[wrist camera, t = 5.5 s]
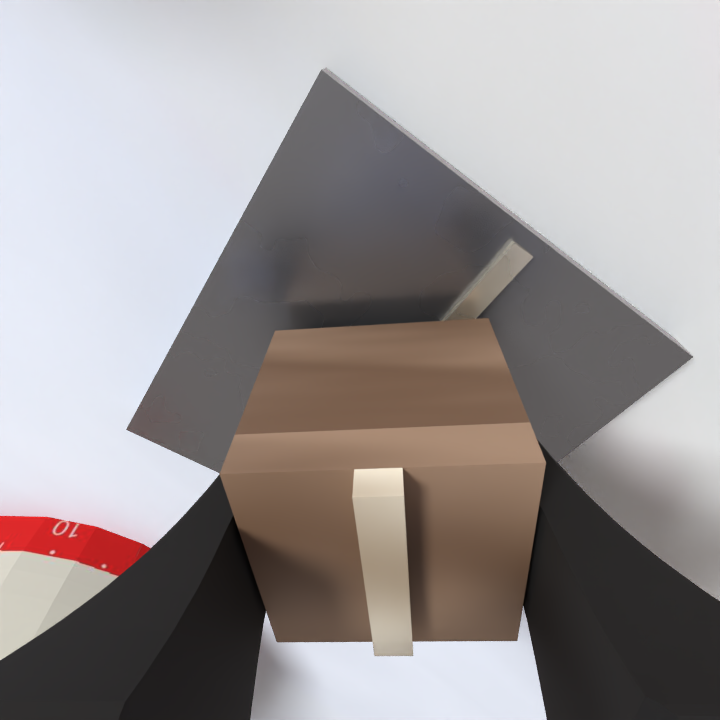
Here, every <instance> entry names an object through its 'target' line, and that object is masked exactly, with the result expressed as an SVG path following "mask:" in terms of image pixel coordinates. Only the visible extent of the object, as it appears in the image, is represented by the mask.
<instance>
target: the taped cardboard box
mask: <svg viewBox="0 0 720 720" xmlns="http://www.w3.org/2000/svg"><path fill="white" fill-rule="evenodd" d="M545 466H546V461H545V459H544V456H543V454H542V451H541V449H540V446H539V444H538V441H537V439H536V436H535V434H534V431H533V429H532V426H531V423H530V421H529V418H528V416H527V413H526V411H525V408H524V406H523V403H522V401H521V398H520V396H519V393H518V391H517V388H516V386H515V383H514V381H513V378H512V376H511V373H510V371H509V368H508V366H507V363H506V361H505V358H504V356H503V353H502V351H501V348H500V346H499V343H498V341H497V338H496V336H495V333H494V331H493V328H492V326H491V323H490V321H489V318H481V319H464V320H448V321H431V322H414V323H397V324H380V325H363V326H346V327H329V328H312V329H296V330H279V331H275V332H274V335H273V337H272V340H271V342H270V345H269V348H268V350H267V353H266V355H265V358H264V360H263V363H262V366H261V368H260V371H259V373H258V376H257V379H256V381H255V384H254V386H253V389H252V391H251V394H250V397H249V399H248V402H247V404H246V407H245V409H244V412H243V415H242V417H241V420H240V422H239V425H238V428H237V430H236V433H235V435H234V438H233V440H232V443H231V446H230V448H229V451H228V453H227V456H226V459H225V461H224V464H223V466H222V469H221V471H220V477H221V480H222V483H223V486H224V489H225V492H226V495H227V498H228V500H229V503H230V506H231V509H232V512H233V515H234V518H235V521H236V524H237V527H238V530H239V533H240V536H241V539H242V541H243V544H244V547H245V550H246V553H247V556H248V559H249V562H250V565H251V568H252V571H253V574H254V577H255V580H256V582H257V585H258V588H259V591H260V594H261V597H262V600H263V603H264V606H265V609H266V612H267V615H268V618H269V621H270V623H271V626H272V629H273V632H274V635H275V638H276V641H277V642H373V648H374V655H375V656H413V644H412V641H517V639H518V633H519V627H520V621H521V614H522V608H523V602H524V596H525V590H526V584H527V577H528V571H529V565H530V559H531V553H532V547H533V540H534V534H535V528H536V522H537V516H538V510H539V503H540V497H541V491H542V485H543V479H544V473H545Z"/></svg>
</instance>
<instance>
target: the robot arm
mask: <svg viewBox="0 0 720 720" xmlns="http://www.w3.org/2000/svg"><path fill="white" fill-rule="evenodd" d="M536 439H537V438H536ZM537 441H538V439H537ZM538 444H539V446H540V449H541V451H542V454H543V456H544V459H545V461H546V466H545V473H544V479H543V485H542V491H541V497H540V503H539V510H538V516H537V522H536V528H535V534H534V540H533V547H532V553H531V559H530V565H529V571H528V577H527V584H526V590H525V596H524V602H523V606H524V610H525V614H526V618H527V622H528V626H529V631H530V636H531V641H532V646H533V651H534V655H535V660H536V665H537V670H538V675H539V680H540V686H541V691H542V696H543V701H544V706H545V711H546V717H547V720H720V601H718V600H717V599H715V598H714V597H712V596H711V595H709V594H708V593H706V592H705V591H704V590H702V589H701V588H699V587H698V586H697V585H695V584H694V583H692V582H691V581H690V580H688V579H687V578H686V577H684V576H683V575H681V574H680V573H679V572H677V571H676V570H675V569H673V568H672V567H670V566H669V565H668V564H666V563H665V562H664V561H662V560H661V559H660V558H658V557H657V556H656V555H655V554H653V553H652V552H651V551H650V550H648V549H647V548H646V547H645V546H643V545H642V544H641V543H640V542H639V541H637V540H636V539H635V538H634V537H633V536H632V535H630V534H629V533H628V532H627V531H626V530H624V529H623V528H622V527H621V526H620V525H619V524H618V523H617V522H615V521H614V520H613V519H612V518H611V517H610V516H609V515H608V514H607V513H606V512H605V511H604V510H603V509H602V508H601V507H600V506H598V505H597V504H596V503H595V502H594V501H593V500H592V499H591V498H590V497H589V496H588V495H587V494H586V493H585V492H584V491H583V490H582V489H581V488H580V487H579V486H578V485H577V483H576V482H575V481H574V480H573V479H572V478H571V477H570V476H569V475H568V474H567V473H566V472H565V470H564V469H563V468H562V467H561V466H560V465H559V464H558V463H557V462H556V461H555V459H554V458H553V457H552V456H551V455H550V454H549V452H548V451H547V450H546V449H545V448H544V447H543V445H542V444H541V443H540V442H539V441H538ZM265 613H266V609H265V606H264V603H263V600H262V597H261V594H260V591H259V588H258V585H257V582H256V580H255V577H254V574H253V571H252V568H251V565H250V562H249V559H248V556H247V553H246V550H245V547H244V544H243V541H242V539H241V536H240V533H239V530H238V527H237V524H236V521H235V518H234V515H233V512H232V509H231V506H230V503H229V500H228V498H227V495H226V492H225V489H224V486H223V483H222V480H221V477H220V475H219V476H218V477H217V478H216V479H215V481H214V482H213V483H212V484H211V485H210V487H209V488H208V489H207V490H206V491H205V493H204V494H203V495H202V496H201V497H200V498H199V499H198V500H197V502H196V503H195V504H194V505H193V506H192V507H191V508H190V509H189V510H188V511H187V513H186V514H185V515H184V516H183V517H182V518H181V519H180V520H179V521H178V522H177V523H176V524H175V525H174V526H173V527H172V528H171V529H170V530H169V531H168V532H167V533H166V534H165V535H164V536H163V537H162V538H161V539H160V540H159V541H158V542H157V543H156V544H155V545H154V546H153V547H152V548H151V549H150V550H149V551H148V552H146V553H145V554H144V555H143V556H142V557H141V558H140V559H139V560H137V561H136V562H135V563H134V564H133V565H131V566H130V567H129V568H128V569H127V570H125V571H124V572H123V573H122V574H121V575H119V576H118V577H117V578H116V579H115V580H113V581H112V582H111V583H110V584H109V585H107V586H106V587H105V588H104V589H102V590H101V591H100V592H99V593H97V594H96V595H95V596H93V597H92V598H91V599H89V600H88V601H87V602H85V603H84V604H83V605H81V606H80V607H79V608H77V609H76V610H74V611H73V612H72V613H70V614H69V615H68V616H66V617H65V618H63V619H62V620H61V621H59V622H58V623H56V624H55V625H53V626H52V627H50V628H49V629H48V630H46V631H45V632H43V633H42V634H40V635H39V636H37V637H35V638H34V639H32V640H31V641H29V642H28V643H26V644H25V645H23V646H22V647H20V648H19V649H17V650H15V651H14V652H12V653H11V654H9V655H8V656H6V657H5V658H3V659H2V660H0V720H250V716H251V707H252V700H253V692H254V685H255V677H256V670H257V663H258V656H259V649H260V643H261V636H262V629H263V623H264V618H265Z"/></svg>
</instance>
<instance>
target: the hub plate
mask: <svg viewBox="0 0 720 720" xmlns="http://www.w3.org/2000/svg"><path fill="white" fill-rule="evenodd" d="M481 318H489V321H490V323H491V326H492V328H493V331H494V333H495V336H496V338H497V341H498V343H499V346H500V348H501V351H502V353H503V356H504V358H505V361H506V363H507V366H508V368H509V371H510V373H511V376H512V378H513V381H514V383H515V386H516V388H517V391H518V393H519V396H520V398H521V401H522V403H523V406H524V408H525V411H526V413H527V416H528V418H529V421H530V423H531V426H532V429H533V431H534V434H535V436H536V438H537V439H538V441H539V442H540V443H541V444H542V445H543V447H544V448H545V449H546V450H547V451H548V452H549V454H550V455H551V456H552V457H553V458H554V459H555V461H556V462H558V461H559V460H561V459H562V458H563V457H564V456H566V455H567V454H568V453H570V452H571V451H572V450H573V449H575V448H576V447H577V446H579V445H580V444H581V443H583V442H584V441H585V440H586V439H588V438H589V437H590V436H592V435H593V434H594V433H595V432H597V431H598V430H599V429H601V428H602V427H603V426H604V425H606V424H607V423H608V422H610V421H611V420H612V419H614V418H615V417H616V416H617V415H619V414H620V413H621V412H623V411H624V410H625V409H626V408H628V407H629V406H630V405H632V404H633V403H634V402H635V401H637V400H638V399H639V398H641V397H642V396H643V395H645V394H646V393H647V392H648V391H650V390H651V389H652V388H654V387H655V386H656V385H657V384H659V383H660V382H661V381H663V380H664V379H665V378H666V377H668V376H669V375H670V374H672V373H673V372H674V371H676V370H677V369H678V368H679V367H681V366H682V365H683V364H685V363H686V362H687V361H688V360H690V359H691V358H692V357H693V356H692V355H691V354H690V353H689V352H688V351H687V350H686V349H685V348H684V347H683V346H682V345H681V344H680V343H679V342H678V341H677V340H676V339H675V338H673V337H672V336H671V335H669V334H668V333H667V332H666V331H664V330H663V329H662V328H660V327H659V326H658V325H657V324H655V323H654V322H653V321H651V320H650V319H649V318H648V317H646V316H645V315H644V314H642V313H641V312H640V311H639V310H637V309H636V308H635V307H633V306H632V305H631V304H630V303H628V302H627V301H626V300H624V299H623V298H622V297H621V296H619V295H618V294H617V293H615V292H614V291H613V290H612V289H610V288H609V287H608V286H606V285H605V284H604V283H602V282H601V281H600V280H599V279H597V278H596V277H595V276H593V275H592V274H591V273H590V272H588V271H587V270H586V269H584V268H583V267H582V266H581V265H579V264H578V263H577V262H575V261H574V260H573V259H572V258H570V257H569V256H568V255H566V254H565V253H564V252H563V251H561V250H560V249H559V248H557V247H556V246H555V245H554V244H552V243H551V242H550V241H548V240H547V239H546V238H545V237H543V236H542V235H541V234H539V233H538V232H537V231H536V230H534V229H533V228H532V227H530V226H529V225H528V224H527V223H525V222H524V221H523V220H521V219H520V218H519V217H518V216H516V215H515V214H514V213H512V212H511V211H510V210H508V209H507V208H506V207H505V206H503V205H502V204H501V203H499V202H498V201H497V200H496V199H494V198H493V197H492V196H490V195H489V194H488V193H487V192H485V191H484V190H483V189H481V188H480V187H479V186H478V185H476V184H475V183H474V182H472V181H471V180H470V179H469V178H467V177H466V176H465V175H463V174H462V173H461V172H460V171H458V170H457V169H456V168H454V167H453V166H452V165H451V164H449V163H448V162H447V161H445V160H444V159H443V158H442V157H440V156H439V155H438V154H436V153H435V152H434V151H433V150H431V149H430V148H429V147H427V146H426V145H425V144H424V143H422V142H421V141H420V140H418V139H417V138H416V137H414V136H413V135H412V134H411V133H409V132H408V131H407V130H405V129H404V128H403V127H402V126H400V125H399V124H398V123H396V122H395V121H394V120H393V119H391V118H390V117H389V116H387V115H386V114H385V113H384V112H382V111H381V110H380V109H378V108H377V107H376V106H375V105H373V104H372V103H371V102H369V101H368V100H367V99H366V98H364V97H363V96H362V95H360V94H359V93H358V92H357V91H355V90H354V89H353V88H351V87H350V86H349V85H348V84H346V83H345V82H344V81H342V80H341V79H340V78H339V77H337V76H336V75H335V74H333V73H332V72H331V71H330V70H328V69H327V68H325V69H322V70H321V71H320V73H319V75H318V77H317V79H316V81H315V82H314V84H313V86H312V88H311V90H310V92H309V93H308V95H307V97H306V99H305V101H304V103H303V105H302V106H301V108H300V110H299V112H298V114H297V116H296V117H295V119H294V121H293V123H292V125H291V127H290V129H289V130H288V132H287V134H286V136H285V138H284V140H283V141H282V143H281V145H280V147H279V149H278V151H277V153H276V154H275V156H274V158H273V160H272V162H271V164H270V165H269V167H268V169H267V171H266V173H265V175H264V177H263V178H262V180H261V182H260V184H259V186H258V188H257V189H256V191H255V193H254V195H253V197H252V199H251V201H250V202H249V204H248V206H247V208H246V210H245V212H244V213H243V215H242V217H241V219H240V221H239V223H238V224H237V226H236V228H235V230H234V232H233V234H232V236H231V237H230V239H229V241H228V243H227V245H226V247H225V248H224V250H223V252H222V254H221V256H220V258H219V260H218V261H217V263H216V265H215V267H214V269H213V271H212V272H211V274H210V276H209V278H208V280H207V282H206V284H205V285H204V287H203V289H202V291H201V293H200V295H199V296H198V298H197V300H196V302H195V304H194V306H193V308H192V309H191V311H190V313H189V315H188V317H187V319H186V320H185V322H184V324H183V326H182V328H181V330H180V332H179V333H178V335H177V337H176V339H175V341H174V343H173V344H172V346H171V348H170V350H169V352H168V354H167V356H166V357H165V359H164V361H163V363H162V365H161V367H160V368H159V370H158V372H157V374H156V376H155V378H154V379H153V381H152V383H151V385H150V387H149V389H148V391H147V392H146V394H145V396H144V398H143V400H142V402H141V403H140V405H139V407H138V409H137V411H136V413H135V415H134V416H133V418H132V420H131V422H130V424H129V426H128V427H127V429H126V430H128V431H130V432H133V433H135V434H137V435H139V436H141V437H143V438H145V439H148V440H150V441H152V442H154V443H156V444H158V445H160V446H163V447H165V448H167V449H169V450H171V451H173V452H175V453H178V454H180V455H182V456H184V457H186V458H188V459H190V460H193V461H195V462H197V463H199V464H201V465H203V466H205V467H208V468H210V469H212V470H214V471H216V472H218V473H220V471H221V469H222V466H223V464H224V461H225V459H226V456H227V453H228V451H229V448H230V446H231V443H232V440H233V438H234V435H235V433H236V430H237V428H238V425H239V422H240V420H241V417H242V415H243V412H244V409H245V407H246V404H247V402H248V399H249V397H250V394H251V391H252V389H253V386H254V384H255V381H256V379H257V376H258V373H259V371H260V368H261V366H262V363H263V360H264V358H265V355H266V353H267V350H268V348H269V345H270V342H271V340H272V337H273V335H274V332H275V331H279V330H296V329H312V328H329V327H346V326H363V325H380V324H397V323H414V322H431V321H448V320H464V319H481Z"/></svg>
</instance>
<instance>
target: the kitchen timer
mask: <svg viewBox="0 0 720 720" xmlns="http://www.w3.org/2000/svg"><path fill="white" fill-rule="evenodd" d="M150 549H151V548H149V547H147V546H145V545H144V544H141V543H139V542H136V541H133V540H131V539H128V538H125V537H123V536H120V535H117V534H115V533H112V532H109V531H107V530H104V529H101V528H99V527H95V526H90V525H85V524H80V523H75V522H70V521H65V520H60V519H55V518H50V517H24V516H0V660H2V659H3V658H5V657H6V656H8V655H9V654H11V653H12V652H14V651H15V650H17V649H19V648H20V647H22V646H23V645H25V644H26V643H28V642H29V641H31V640H32V639H34V638H35V637H37V636H39V635H40V634H42V633H43V632H45V631H46V630H48V629H49V628H50V627H52V626H53V625H55V624H56V623H58V622H59V621H61V620H62V619H63V618H65V617H66V616H68V615H69V614H70V613H72V612H73V611H74V610H76V609H77V608H79V607H80V606H81V605H83V604H84V603H85V602H87V601H88V600H89V599H91V598H92V597H93V596H95V595H96V594H97V593H99V592H100V591H101V590H102V589H104V588H105V587H106V586H107V585H109V584H110V583H111V582H112V581H113V580H115V579H116V578H117V577H118V576H119V575H121V574H122V573H123V572H124V571H125V570H127V569H128V568H129V567H130V566H131V565H133V564H134V563H135V562H136V561H137V560H139V559H140V558H141V557H142V556H143V555H144V554H145V553H146V552H148V551H149V550H150Z"/></svg>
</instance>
